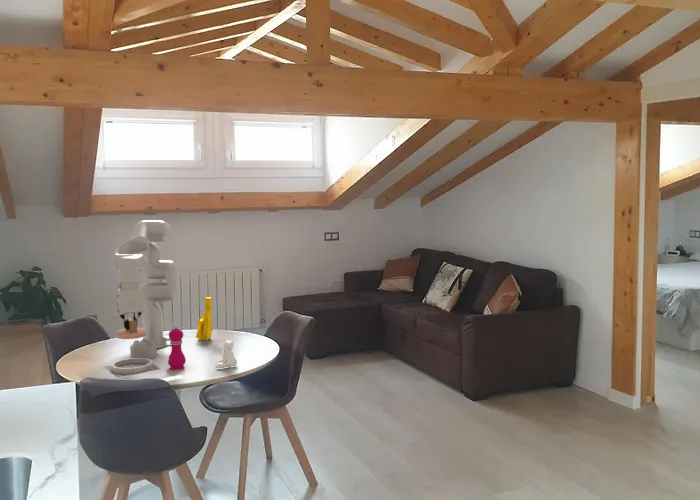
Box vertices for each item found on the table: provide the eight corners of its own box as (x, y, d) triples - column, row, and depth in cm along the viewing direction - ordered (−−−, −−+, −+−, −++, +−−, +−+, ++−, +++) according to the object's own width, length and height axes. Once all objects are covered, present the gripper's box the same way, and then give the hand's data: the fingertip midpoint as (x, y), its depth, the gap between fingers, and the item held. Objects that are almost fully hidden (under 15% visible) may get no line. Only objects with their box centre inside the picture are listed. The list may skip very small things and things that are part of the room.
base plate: (145, 362, 278) (145, 355, 278) (160, 372, 264) (160, 364, 264) (104, 370, 268) (104, 362, 267) (117, 380, 253) (117, 371, 253)
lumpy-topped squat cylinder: (128, 362, 279) (127, 343, 278) (139, 354, 292) (139, 336, 291) (150, 363, 278) (149, 344, 277) (161, 355, 291) (160, 337, 290)
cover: (150, 336, 263) (149, 319, 263) (121, 340, 256) (120, 323, 255) (140, 330, 273) (139, 315, 272) (112, 334, 266) (111, 318, 265)
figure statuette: (203, 335, 329) (201, 294, 327) (217, 335, 329) (216, 294, 327) (192, 343, 312) (191, 300, 309) (207, 344, 311) (206, 300, 309)
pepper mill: (170, 369, 269) (168, 323, 267) (187, 368, 269) (185, 323, 267) (166, 374, 262) (165, 327, 260) (184, 373, 262) (182, 327, 260)
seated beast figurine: (220, 363, 277) (219, 337, 276) (239, 363, 277) (238, 337, 276) (214, 370, 268) (214, 342, 266) (234, 370, 267) (234, 342, 266)
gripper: (112, 289, 254) (114, 333, 256) (151, 285, 264) (152, 327, 266) (106, 286, 260) (108, 329, 262) (145, 282, 270) (146, 324, 272)
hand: (130, 328), depth 264 cm, fingers closed on cover, 2 cm apart
